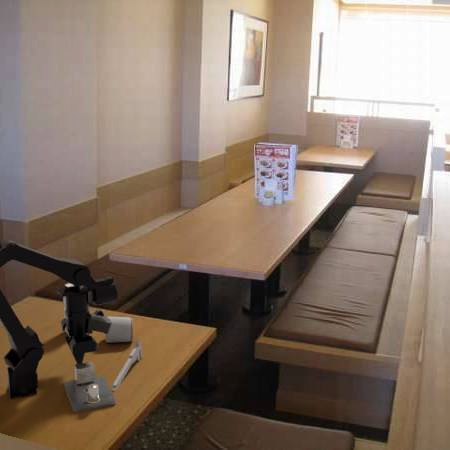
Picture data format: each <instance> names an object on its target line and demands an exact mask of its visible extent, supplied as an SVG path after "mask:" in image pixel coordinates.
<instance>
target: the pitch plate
mask: <svg viewBox="0 0 450 450" xmlns="http://www.w3.org/2000/svg"><path fill="white" fill-rule="evenodd" d="M63 384H64V385H63V386H64V390H66V391H65V393H66V396H67V398H69V399H68V401H69V404H70V407H71V408H72V411H73V413H78V412H81V411H82V412H83V411H87V410H93V409H99V408H103V407H104V408H105V407H109V406H113V405H114V406H115V405H116V397H115V395H114V394H113V391H111V389H112V388H110V386H109V384H108V382H107V380H106V378H105V376H104V375H99V376H95V381H93V382H87V383H81V384H77V382H76V380H70V381H64V382H63Z"/></svg>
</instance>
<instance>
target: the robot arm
mask: <svg viewBox="0 0 450 450" xmlns="http://www.w3.org/2000/svg"><path fill="white" fill-rule="evenodd" d="M11 261H16V262H19V263H22V264H25V265H27V266H28V265H29V266H31V267H33V268H36V269H39V270H43V271H45V272H48V273H51V274H53V275H56V276H57V277H59V278H60V279H63V280H64V281H66V282H67V283H70V284H72V285H74V286H70V287H67V286H66V284H62V286H61V287H60V288H58V290H56V293H57V294H58V295H59V296H61V297H62V298H63V297H65V298H66V311H65V316H66V318H64V317H63V319H62V320H61V321H60V328H61V331H62V332H66V331H67V332H66V334H67V333H68V334H67V335H66V336H65V337H64V339H65V341H66V343H67V346H68V348H69V350H70V352H71V354H72V356H73V359H74V361H75V362H76V364H81V363H84V362H83V361H84V359H85V354H87V353H95V352H97V351H98V348H99V347H98V341H96V338H95V337H94V336H92V335H90V334H93V332H98V333H102V334H105V335H106V334H108V333H109V330H110V327H111V324H112V322H111V321H110V319H109V318H108V317H109V316H107V315H105V313H104V311H103V310H102V309H96V310H95V311H94V312H93V313H91V312H90V311H89V307H90V304H89V303H92V305H93V306H96V307H97V306H100V305H105V304H110V303H114V302H116V301H117V300H118V298H119V296H118V295H119V292H118V290H117V286H116V284H115V281H114V278H113V277H111V276H105V277H103V278H97V279H94V277H92V273H91V270H90V268H89V266H87V265H85V264H84V263H82V262H80V261H78V260H77V259H74V258H67V257H56V256H52V255H49V254H46V253H44V252H41V251H38V250H36V249H33V248H30V247H27V246H25V245H22V244H19V243H16V242H14V241H13V240H12V239H4V240H2V241H0V268H2V267H4V265H6V264H7V263H8V262H11ZM0 324H1V325H2V327H3V328H4V330H5V331H6V333H7V338H8V342H9V344H10V349H9V350H8V351H7V353H6V354H5V355H4V357H3V360H4V362H5V365H7V366H8V367H7V379H8V380H7V381H8V382H7V383H8V385H7V390H8V394H9V395H8V396H9V398H10V399H16V398H22V397H29V396H33V395H37V394H38V390H37V389H38V388H39V378H38V377H39V376H38V372H37V370H38V366H39V362H41V360H42V359H43V357H44V354H45V351H44V348H43V347H44V346H45V344H44V343H43V342H42V341H41V340H40V338H39V336H38V333H37V332H36V331H35V330H34V329H33V328H32V327H31V326H30V325H26V327H24V326H23V324H22V322H21V321H20V319H19V318H18V316H17V315H16V312H15V311H14V309H13V308H12V307H11V305H10V303H9V301H8V300H7V298H6V296H5V295H4V293H3V291H2V290H1V289H0ZM65 328H66V331H65Z"/></svg>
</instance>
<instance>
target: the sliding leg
mask: <svg viewBox="0 0 450 450" xmlns="http://www.w3.org/2000/svg"><path fill="white" fill-rule="evenodd" d="M95 372H96V371H95V365H94V363H93V361H87V362H82V363H81V364H77V363H76V364H74V378H75V380H76V382H77V384H81V383H87V382H93V381H95V377H96V376H95V375H96V373H95ZM75 380H74V381H75Z"/></svg>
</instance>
